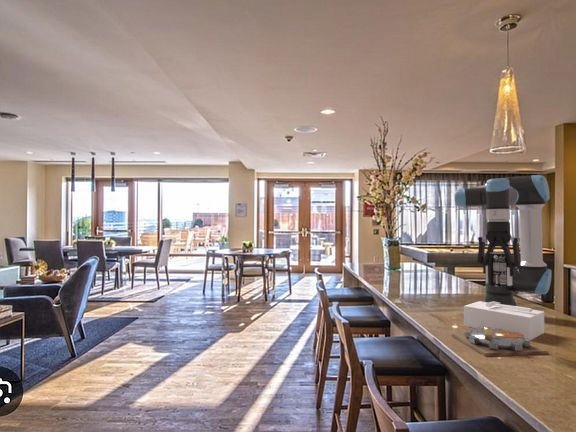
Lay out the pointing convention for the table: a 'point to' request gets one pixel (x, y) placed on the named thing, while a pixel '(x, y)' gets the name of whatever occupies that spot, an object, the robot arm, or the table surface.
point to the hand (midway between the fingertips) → (498, 284)
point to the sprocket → (497, 338)
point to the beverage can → (497, 269)
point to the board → (500, 352)
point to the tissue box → (505, 318)
